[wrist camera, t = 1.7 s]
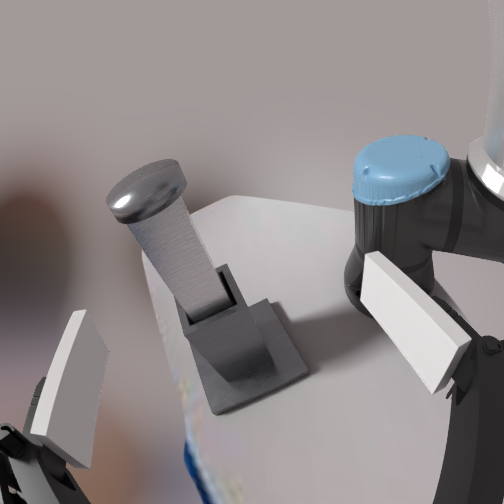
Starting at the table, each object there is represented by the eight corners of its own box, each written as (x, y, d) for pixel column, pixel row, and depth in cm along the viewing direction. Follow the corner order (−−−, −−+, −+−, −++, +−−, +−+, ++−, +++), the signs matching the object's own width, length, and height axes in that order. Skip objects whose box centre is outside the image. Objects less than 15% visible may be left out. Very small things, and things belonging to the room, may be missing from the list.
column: (214, 342, 41) (109, 184, 22) (253, 324, 41) (173, 151, 23) (227, 378, 36) (102, 219, 18) (270, 358, 37) (185, 177, 18)
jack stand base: (191, 339, 44) (141, 277, 34) (268, 303, 46) (241, 229, 35) (216, 415, 34) (156, 373, 24) (309, 373, 36) (294, 311, 25)
